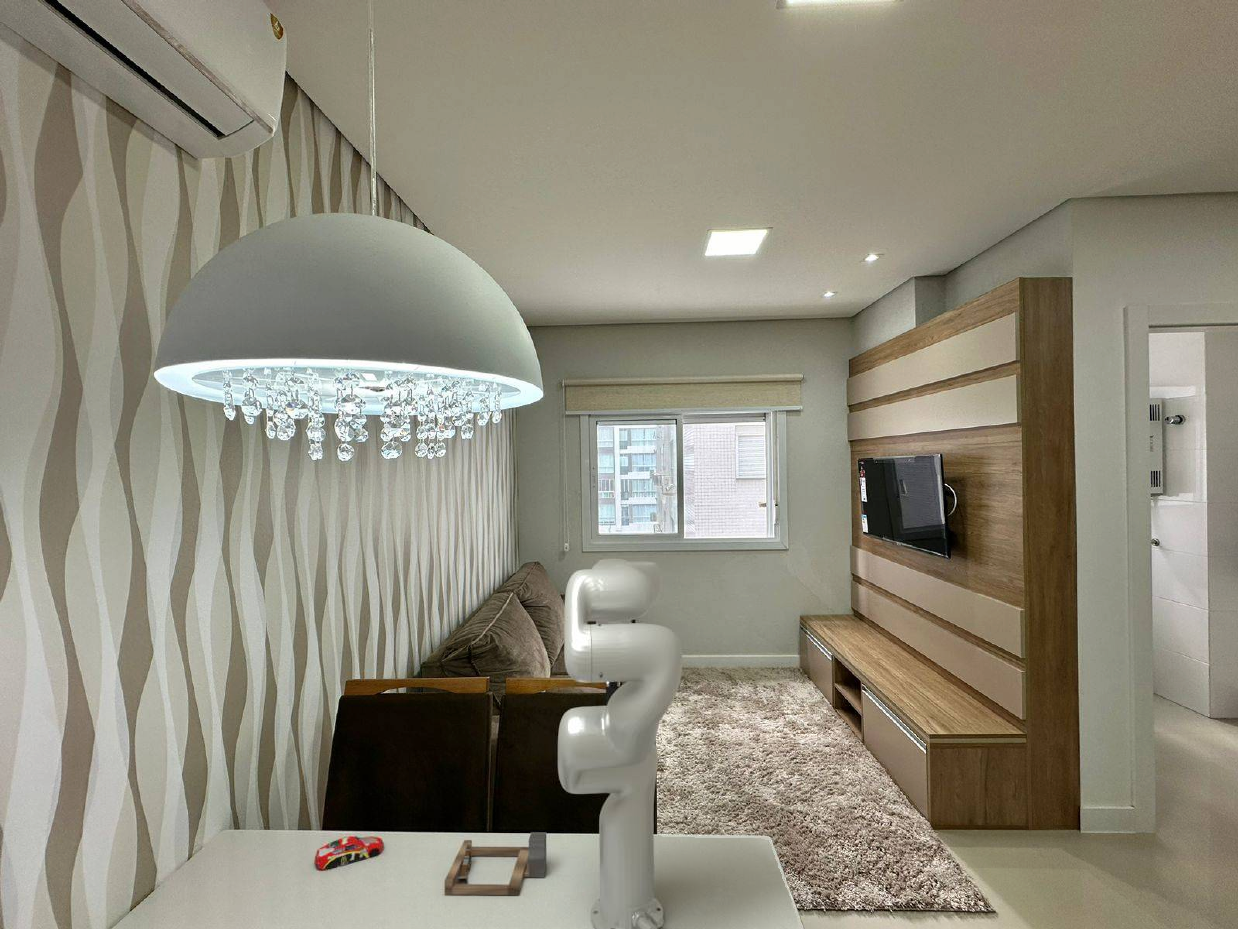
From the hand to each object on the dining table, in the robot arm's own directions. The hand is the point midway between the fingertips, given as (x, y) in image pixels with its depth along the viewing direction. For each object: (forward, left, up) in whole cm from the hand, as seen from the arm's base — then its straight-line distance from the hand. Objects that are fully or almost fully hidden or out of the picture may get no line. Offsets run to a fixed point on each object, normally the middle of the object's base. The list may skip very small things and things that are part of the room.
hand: (614, 698), depth 144 cm
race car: (+26, +48, -31) cm, 63 cm away
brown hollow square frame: (+3, +25, -30) cm, 39 cm away
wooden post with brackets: (+7, +31, -31) cm, 44 cm away
